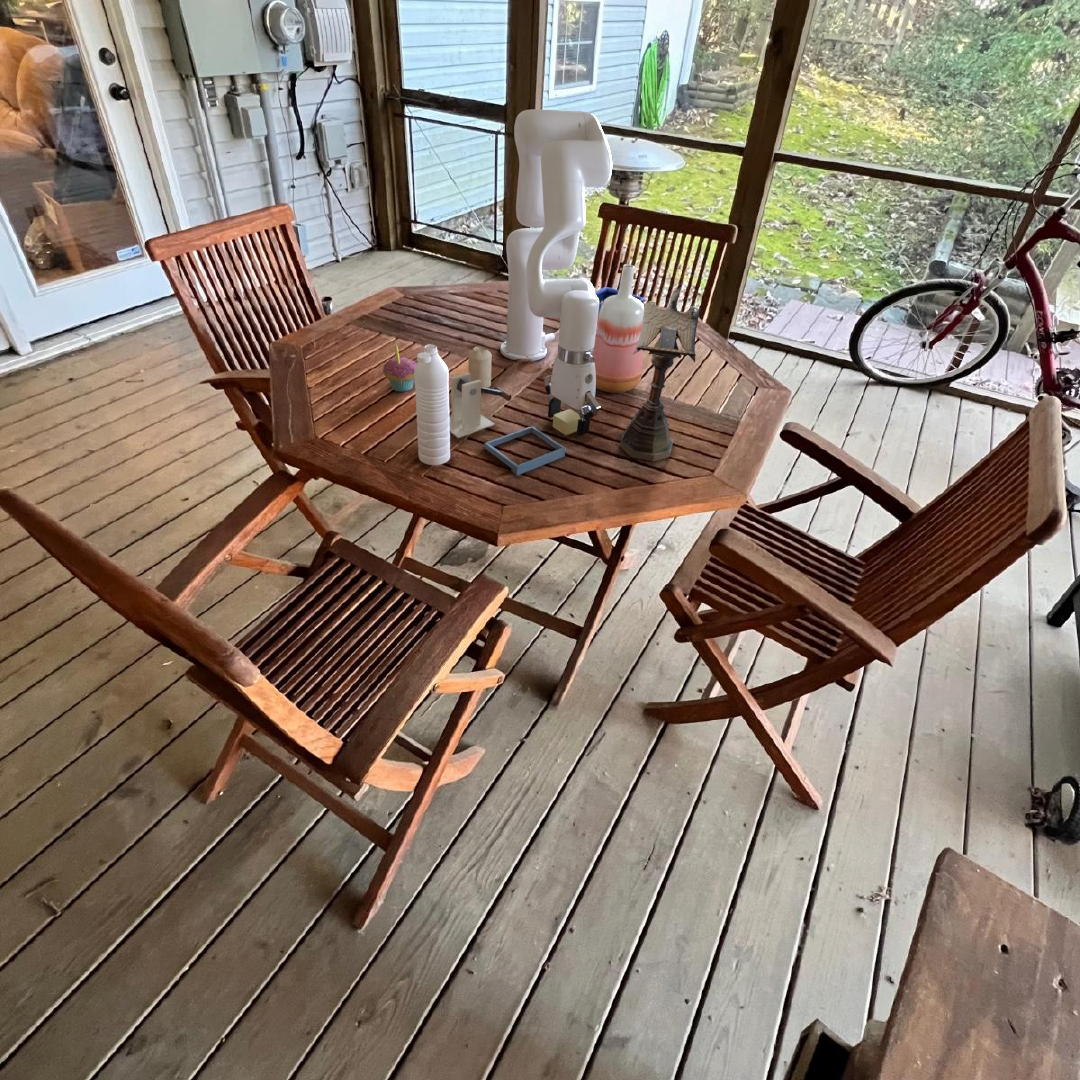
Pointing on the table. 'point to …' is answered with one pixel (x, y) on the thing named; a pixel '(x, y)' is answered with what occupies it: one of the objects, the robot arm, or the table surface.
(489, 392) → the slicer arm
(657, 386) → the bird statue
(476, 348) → the candle
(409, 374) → the cupcake
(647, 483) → the table surface
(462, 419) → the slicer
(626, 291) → the vase
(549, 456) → the dish
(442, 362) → the water bottle
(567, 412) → the butter
